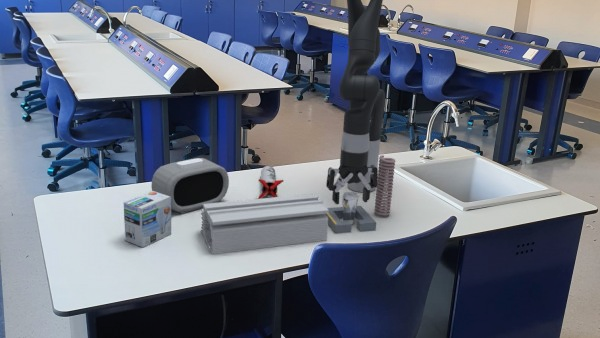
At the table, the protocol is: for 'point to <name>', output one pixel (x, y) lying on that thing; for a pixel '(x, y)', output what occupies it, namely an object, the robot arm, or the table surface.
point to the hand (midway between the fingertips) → (350, 202)
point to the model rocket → (269, 182)
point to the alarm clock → (191, 183)
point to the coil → (381, 191)
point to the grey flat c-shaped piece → (338, 226)
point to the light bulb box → (147, 218)
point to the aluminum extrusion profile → (263, 223)
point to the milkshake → (349, 206)
